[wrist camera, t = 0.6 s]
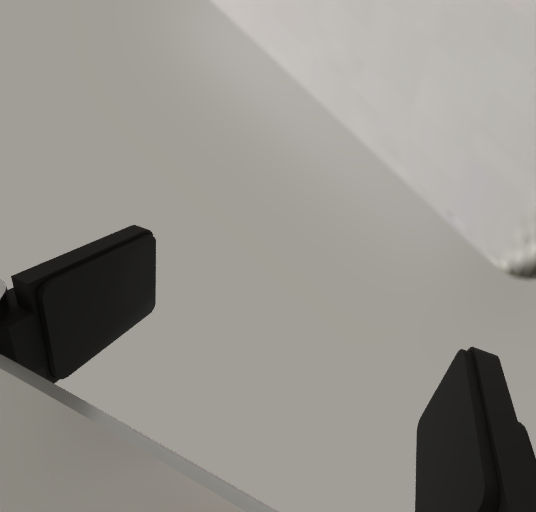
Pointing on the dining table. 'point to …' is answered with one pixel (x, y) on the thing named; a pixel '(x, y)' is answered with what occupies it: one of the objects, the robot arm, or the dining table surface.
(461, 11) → the dining table surface
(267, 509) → the robot arm
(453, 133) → the dining table surface
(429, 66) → the dining table surface
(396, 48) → the dining table surface
